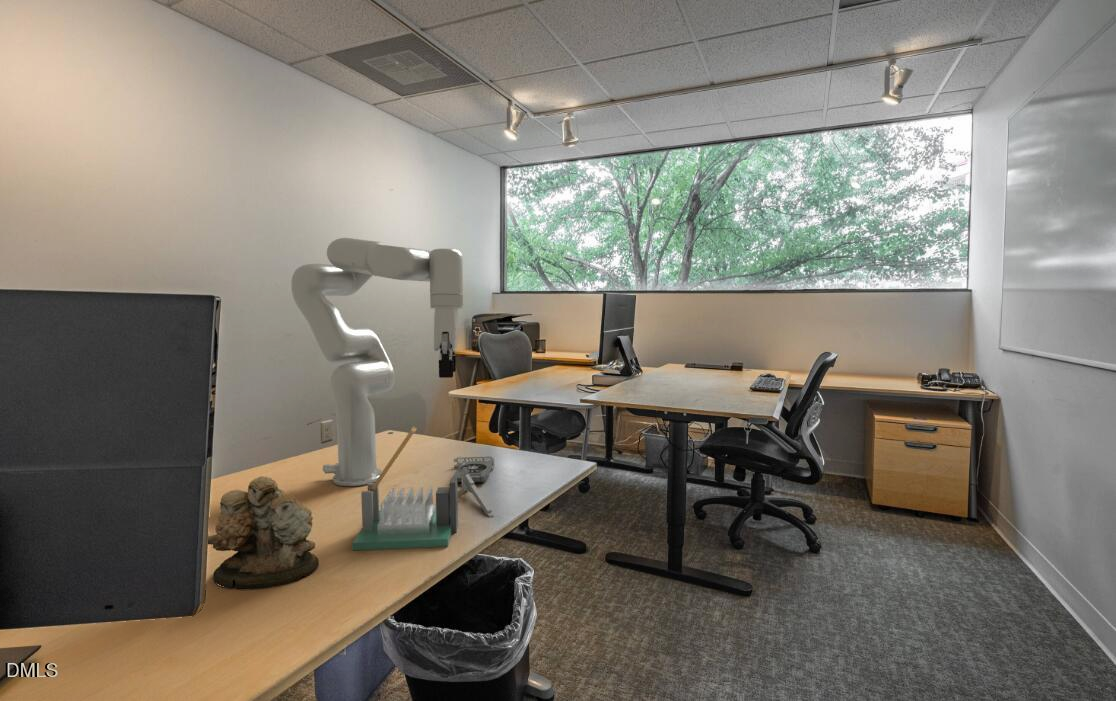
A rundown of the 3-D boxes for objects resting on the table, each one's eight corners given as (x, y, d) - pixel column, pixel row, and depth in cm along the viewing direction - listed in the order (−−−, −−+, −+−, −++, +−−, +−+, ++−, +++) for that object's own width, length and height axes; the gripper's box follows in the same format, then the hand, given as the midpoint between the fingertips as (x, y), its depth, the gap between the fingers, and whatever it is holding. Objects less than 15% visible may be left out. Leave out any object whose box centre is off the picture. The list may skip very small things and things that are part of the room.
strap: (369, 499, 107) (363, 496, 107) (372, 494, 110) (368, 491, 110) (415, 432, 107) (410, 429, 107) (417, 429, 110) (412, 426, 110)
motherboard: (352, 550, 101) (350, 502, 100) (374, 517, 117) (372, 475, 116) (447, 546, 103) (446, 498, 102) (456, 513, 119) (455, 472, 118)
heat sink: (377, 535, 104) (376, 505, 104) (389, 515, 114) (388, 488, 114) (429, 533, 105) (428, 503, 105) (436, 513, 115) (435, 486, 115)
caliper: (461, 490, 135) (460, 466, 134) (465, 489, 135) (465, 465, 135) (489, 518, 117) (488, 491, 116) (494, 517, 117) (493, 490, 117)
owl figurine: (191, 595, 86) (184, 493, 85) (225, 561, 98) (219, 471, 96) (308, 585, 89) (303, 486, 87) (328, 553, 100) (323, 465, 99)
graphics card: (454, 456, 154) (495, 455, 153) (455, 469, 154) (496, 468, 154) (440, 475, 137) (487, 474, 137) (441, 489, 137) (487, 488, 137)
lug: (436, 533, 109) (435, 483, 108) (439, 525, 112) (437, 477, 111) (456, 532, 109) (455, 482, 108) (458, 525, 113) (457, 477, 112)
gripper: (434, 302, 132) (435, 370, 134) (426, 302, 115) (427, 380, 117) (464, 302, 133) (465, 369, 135) (461, 302, 116) (462, 379, 118)
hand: (447, 374), depth 126 cm, fingers open, 9 cm apart
